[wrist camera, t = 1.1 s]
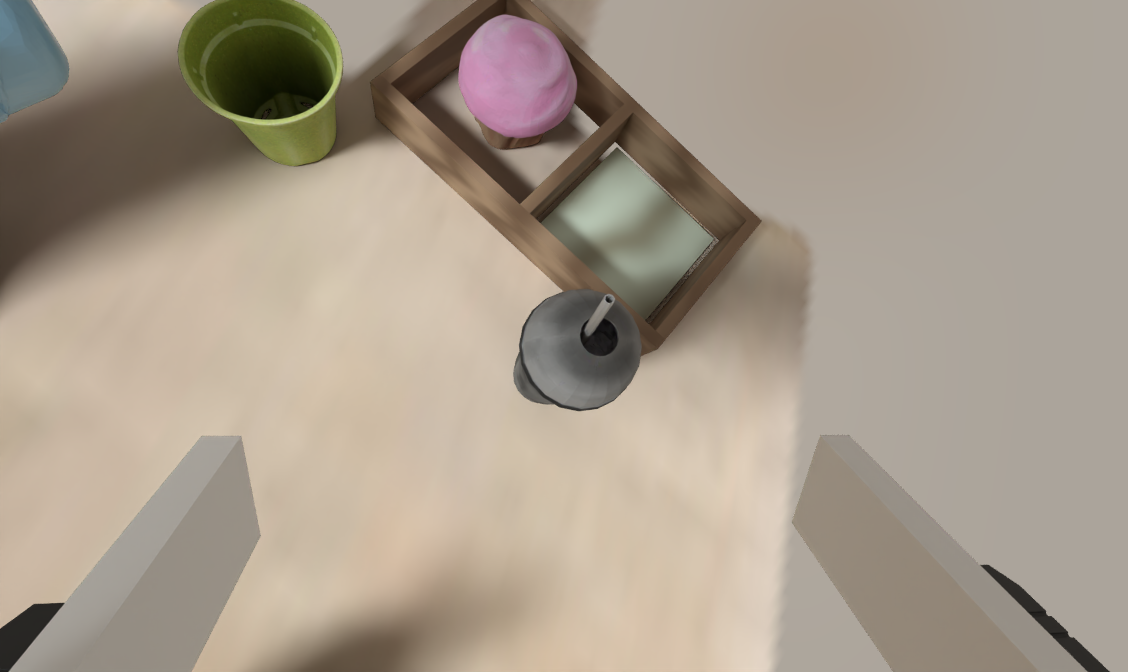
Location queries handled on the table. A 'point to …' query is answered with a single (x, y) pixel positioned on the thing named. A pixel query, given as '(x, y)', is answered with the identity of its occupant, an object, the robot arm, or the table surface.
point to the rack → (583, 184)
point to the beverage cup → (577, 351)
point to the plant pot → (266, 73)
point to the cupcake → (516, 81)
